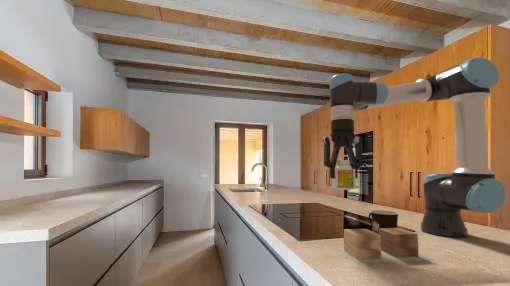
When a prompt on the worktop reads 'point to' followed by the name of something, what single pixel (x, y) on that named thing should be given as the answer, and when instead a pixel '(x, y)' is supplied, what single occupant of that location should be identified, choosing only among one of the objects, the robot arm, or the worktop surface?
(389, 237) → the tower block
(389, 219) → the coffee mug
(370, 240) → the oak block
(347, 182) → the supplement bottle
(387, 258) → the building board
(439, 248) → the worktop surface
